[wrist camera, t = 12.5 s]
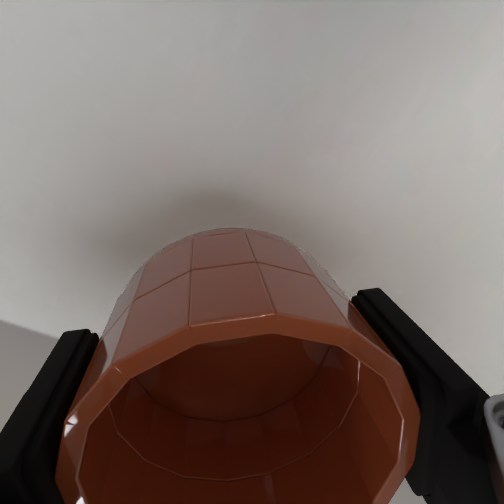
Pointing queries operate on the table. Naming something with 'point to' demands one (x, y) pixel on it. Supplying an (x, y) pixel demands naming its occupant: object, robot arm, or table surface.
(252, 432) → the cup
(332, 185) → the table surface
